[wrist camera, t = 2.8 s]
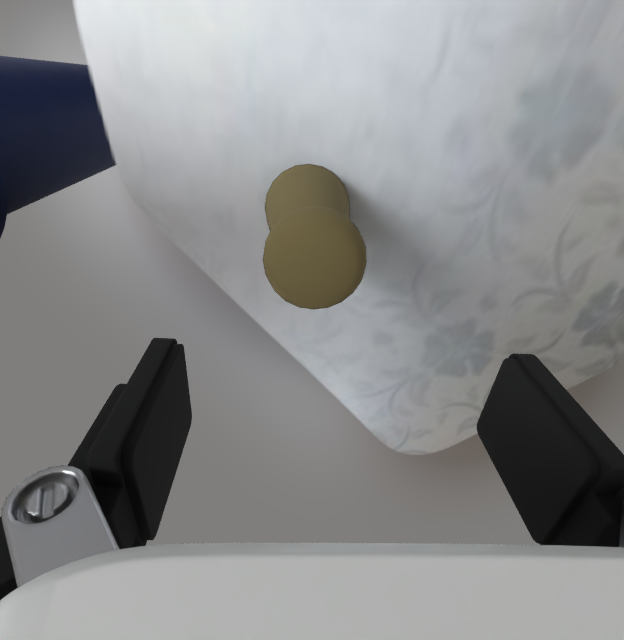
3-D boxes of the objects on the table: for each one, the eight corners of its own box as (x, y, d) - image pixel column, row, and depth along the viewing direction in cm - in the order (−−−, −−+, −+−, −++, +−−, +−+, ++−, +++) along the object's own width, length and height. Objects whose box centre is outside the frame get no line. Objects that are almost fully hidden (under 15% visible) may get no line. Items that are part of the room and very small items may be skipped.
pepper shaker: (280, 150, 25) (274, 187, 16) (363, 182, 27) (403, 235, 17) (254, 234, 28) (236, 308, 19) (330, 259, 29) (350, 341, 20)
